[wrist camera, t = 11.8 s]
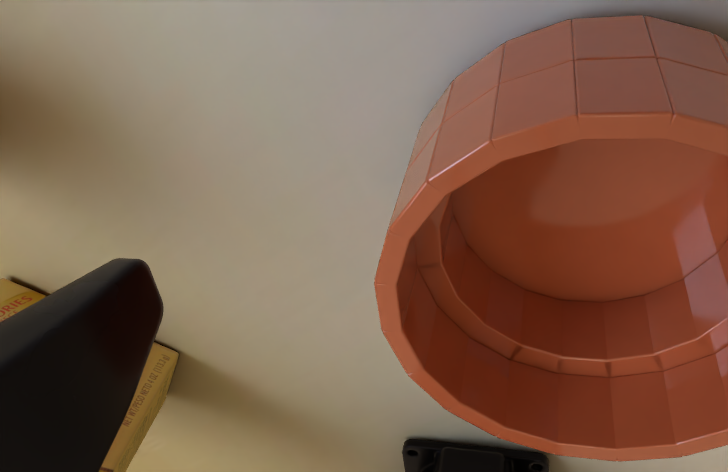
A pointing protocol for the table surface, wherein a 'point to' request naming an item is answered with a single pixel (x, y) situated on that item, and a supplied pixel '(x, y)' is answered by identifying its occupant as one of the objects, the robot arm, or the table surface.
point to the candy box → (149, 397)
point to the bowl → (572, 242)
